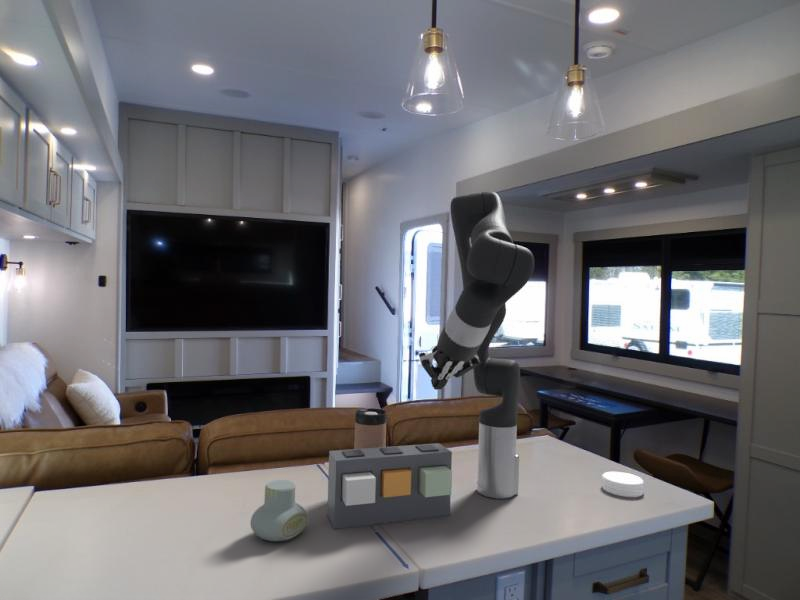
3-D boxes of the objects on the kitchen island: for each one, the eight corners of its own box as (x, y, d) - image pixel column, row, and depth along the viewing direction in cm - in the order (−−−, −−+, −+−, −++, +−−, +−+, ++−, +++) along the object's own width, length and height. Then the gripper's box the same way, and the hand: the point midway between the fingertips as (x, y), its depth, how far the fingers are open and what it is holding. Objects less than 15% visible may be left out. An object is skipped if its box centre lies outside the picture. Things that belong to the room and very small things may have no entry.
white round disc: (601, 494, 130) (601, 480, 130) (601, 481, 139) (602, 468, 139) (644, 501, 126) (645, 486, 126) (642, 487, 135) (642, 474, 135)
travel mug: (380, 501, 120) (382, 416, 120) (348, 498, 121) (351, 413, 121) (387, 489, 127) (389, 409, 127) (357, 486, 129) (360, 407, 129)
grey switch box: (437, 503, 120) (439, 441, 120) (449, 515, 113) (451, 450, 113) (327, 515, 111) (329, 449, 111) (334, 529, 105) (336, 459, 105)
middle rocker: (399, 483, 115) (400, 461, 115) (410, 494, 109) (411, 471, 109) (374, 485, 113) (374, 463, 113) (383, 497, 107) (384, 473, 107)
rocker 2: (438, 483, 116) (438, 461, 116) (451, 494, 110) (452, 471, 110) (413, 485, 114) (414, 463, 114) (425, 497, 108) (426, 473, 108)
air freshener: (273, 552, 95) (275, 498, 95) (242, 539, 99) (244, 488, 99) (313, 530, 104) (314, 481, 104) (283, 520, 108) (285, 473, 108)
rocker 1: (365, 490, 111) (366, 467, 111) (375, 502, 104) (375, 478, 104) (338, 492, 109) (339, 469, 109) (346, 505, 102) (346, 480, 102)
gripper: (490, 315, 98) (460, 370, 110) (426, 314, 94) (402, 371, 105) (504, 346, 93) (470, 400, 105) (437, 346, 89) (410, 402, 100)
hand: (436, 385), depth 105 cm, fingers closed
